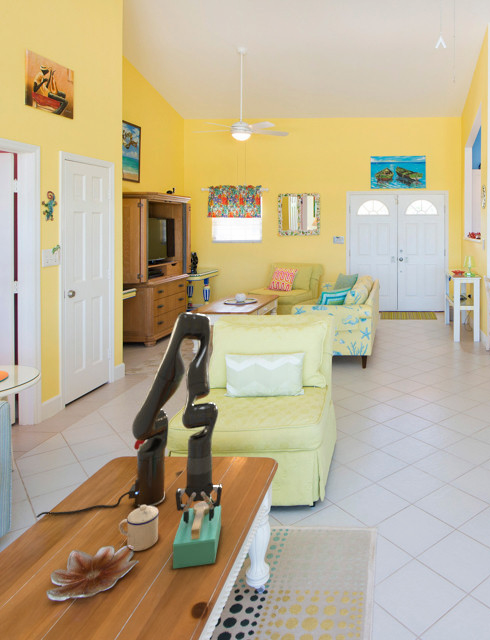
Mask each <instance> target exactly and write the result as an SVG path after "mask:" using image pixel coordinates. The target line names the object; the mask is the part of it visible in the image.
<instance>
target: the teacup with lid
mask: <svg viewBox="0 0 490 640" xmlns="http://www.w3.org/2000/svg"><path fill="white" fill-rule="evenodd" d="M159 514H160V511H159V509H158V508H157V506H155V507H153V506H146V505H141V506H140V508H139V507H137V508H136V509H133V510H132V511H131V512H130V513H129V514H128V515H127V518H124V519H122V520H121V521H120V523H119V524H118V530H119V532H120V534H121V535H122V536H125V537H127V541H126V542H127V543H126V546H127V545H131V546H133V547H134V548H133V550H132V551H134V552H140V551H144V550H147V549H150V548H151V547H153V546H154V545H155V544H156V543H157V541H158V539H159ZM124 523H127V531H126V530H125V529H124V527H123V524H124Z"/></svg>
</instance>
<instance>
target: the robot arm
mask: <svg viewBox="0 0 490 640" xmlns="http://www.w3.org/2000/svg"><path fill="white" fill-rule="evenodd" d="M211 327H212V325H211V319H210V317H209V316H208V315H207V314H203V313H194V312H186V311H185V312H181V313H180V314H179V315H178V316H177V318H176V320H175V322H174V325H173V328H172V331H171V334H170V337H169V340H168V344H167V347H166V350H165V352H164V354H163V357H162V359H161V361H160V363H159V366H158V368H157V370H156V373H155V375H154V378H153V380H152V382H151V386H150V387H149V390H148V392H147V394H146V397H145V399H144V401H143V403H142V404H141V406H140V408H139V410H138V411H137V414H136V415H135V417H134V419H133V421H132V426H131V432H132V436H133V438H134V439H136V441H137V440H139V441H144V440H145V442H144V443H143V444H142V445H141V446H140V447H139V448H138V450H136V451H137V452H136V457H137V458H136V478H135V481H134V483H132V485H131V487H130V489H129V490H128V491H127V492H125V493H123V494H122V495H120V497H119V498H118V500H117V503H115V504H113V505H107V504H97V505H92V506H89V507H85V508H82V509H77V510H69V511H56V512H55V511H42V512H40V513H39V514H37V515H36V516H35V518H40V517H41V516H43V515H51V516H53V515H54V516H55V515H70V514H76V513H82V512H85V511H89V510H92V509H93V510H94V509H99V508H106V509H107V508H109V509H110V508H115V507H118V506H119V505H120V503H121V500H122V499H123V498H124V497H125V496H127V495H128V500H132V499H134V508H140V506H141V505H146V506H153V507H157V506H159V505H161V504H162V503H164V501H165V498H166V497H165V495H166V494H165V478H166V476H165V475H166V474H165V473H166V472H165V471H166V470H165V469H166V448H167V445H168V439H169V417H168V414H167V412H166V411H165V410H164V409H163V407H164V406H166V404H167V403H168V402H169V401H170V400H171V399H172V398H173V396H175V394H176V393H177V391H178V390H179V388H180V386H181V384H182V382H183V379H184V377H185V378H186V379H185V382H186V398H185V404H184V408H183V411H182V416H181V422H182V425H183V427H184V428H185V429H187V430H193V429H199V428H202V429H201V430H199V431H197V432H195V433H192V434H191V435H190V436H189V437H188V439H187V460H186V486H185V487H184V488H181V487H177V489H176V491H175V494H174V495H175V504H176V510H177V511H178V512H180V511H182V515H183V521H184V522H186V524H187V523H188V522H189V508H190V507H191V505H192V503H198V502H202V501H205V502H206V504H208V506H209V521H211V520H212V519H213V517H214V508H215V507H216V506H217V507H218V506H219V505H221V500H222V492H223V484H222V483H219V484H217V485H214V483H213V452H212V449H213V447H212V446H213V445H212V444H213V435H214V430H215V428H216V424H217V420H218V417H219V408H218V406H217V404H216V403H214V402H212V401H209V402H203V403H196V402H197V401H199V400H201V399H204V398H206V397H208V396H209V395H210V393H211V386H210V384H211V383H210V373H209V359H210V348H211V347H210V346H211V331H212V330H211V329H212V328H211ZM185 340H186V341H187V340H188V341H197V350H196V352H195V355H194V356H193V358H192V360H191V362H190V363H189V365H188V367H187V369H186V365H185V361H184V358H183V355H182V351H181V348H182V344H183V342H184V341H185ZM195 403H196V404H195ZM213 491H214V493H215V494H216V500H214V498H213V497H212V494H211V493H212V492H213ZM184 494H185V495H186V496H187V497H188V498H187V500H186V502H185V503H183V496H184ZM50 512H51V513H50ZM48 513H49V514H48Z"/></svg>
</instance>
